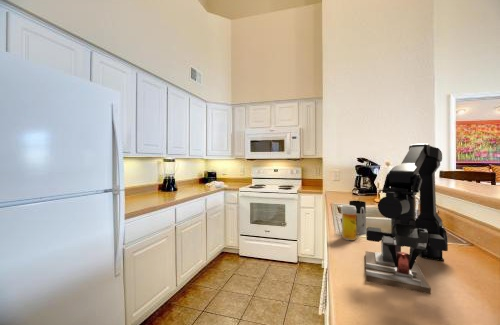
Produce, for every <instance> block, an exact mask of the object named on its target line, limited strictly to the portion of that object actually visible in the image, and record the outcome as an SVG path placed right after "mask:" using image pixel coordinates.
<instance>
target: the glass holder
mask: <svg viewBox="0 0 500 325" xmlns="http://www.w3.org/2000/svg"><path fill="white" fill-rule="evenodd" d="M348 205H353V206H355V207H356V233H360V234H359V235H366V228H367V211H366V205H367V204H366V201H364V200H349V202H348Z"/></svg>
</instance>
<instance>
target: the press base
mask: <svg viewBox="0 0 500 325" xmlns="http://www.w3.org/2000/svg"><path fill="white" fill-rule="evenodd" d="M364 252H365V255H364V256H365V278H366V280H365V281H366V282H370V283H375V284H380V285H384V286H389V287H394V288H398V289H404V290H408V291H414V292H418V293H422V294H423V293H424V294H428V295H431V294H432V289H431V286H430V285H429V283H428V281H427V279H426V277H425V275H424V274H423V272H422V270H421V268H420V267H419V265H418V263H417V261H415V263H414V265H413V267H412V269H411V270H410V269H409V270H410V271H411V273H412V275H413V279H411V278H406V277H401V276H395V274H394V267H395V264H394V263H391V262H385V261H383V259H382V255H381V252H379V251H373V252H372V251H368V250H367V251H366V250H365V251H364ZM395 268H397V267H395Z"/></svg>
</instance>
